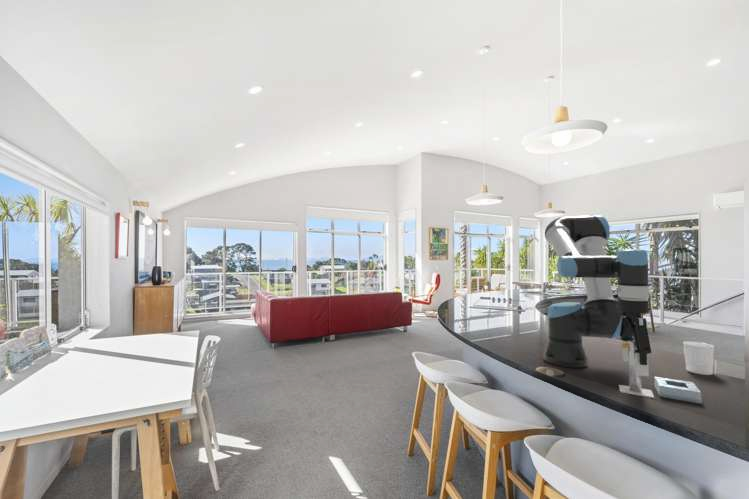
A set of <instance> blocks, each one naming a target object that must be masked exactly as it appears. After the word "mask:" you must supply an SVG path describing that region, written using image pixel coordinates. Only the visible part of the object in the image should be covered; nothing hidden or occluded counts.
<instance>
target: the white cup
mask: <svg viewBox="0 0 749 499" xmlns="http://www.w3.org/2000/svg"><path fill="white" fill-rule="evenodd" d="M714 352H715V346H714V345H713V344H710V343H705V342H700V341H688V340H687V341H683V353H684V362H685V369H686V371H687V372H690V373H693V374H696V375H697V374H698V375H702V376H704V375H705V376H710V375H713V372H714V368H713V367H714V360H715V359H714V358H715V357H714V356H715V353H714Z"/></svg>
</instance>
